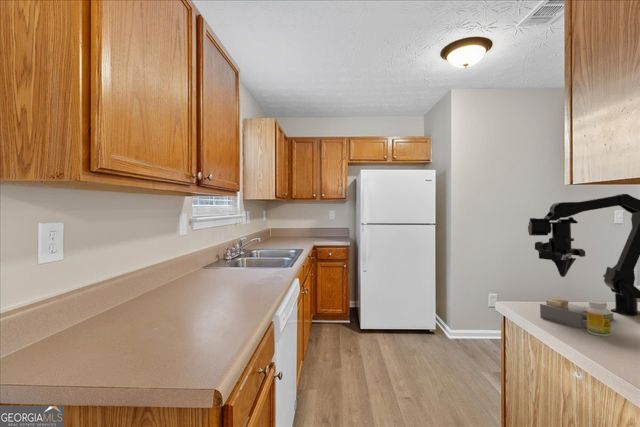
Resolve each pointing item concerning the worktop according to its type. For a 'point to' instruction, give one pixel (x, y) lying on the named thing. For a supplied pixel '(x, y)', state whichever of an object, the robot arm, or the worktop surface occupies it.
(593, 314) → the supplement bottle
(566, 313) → the trap board
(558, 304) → the maple block
